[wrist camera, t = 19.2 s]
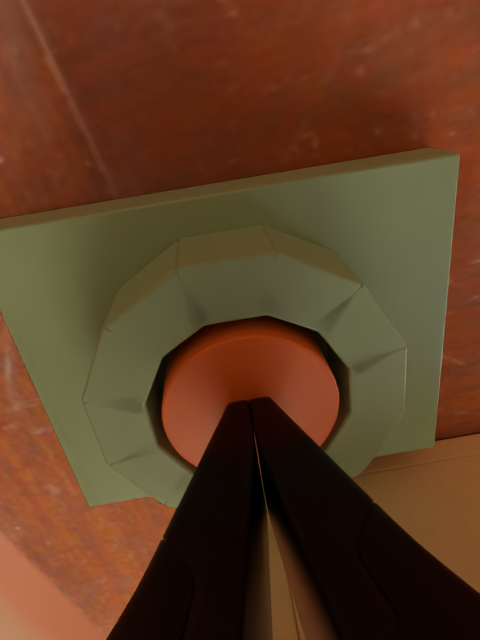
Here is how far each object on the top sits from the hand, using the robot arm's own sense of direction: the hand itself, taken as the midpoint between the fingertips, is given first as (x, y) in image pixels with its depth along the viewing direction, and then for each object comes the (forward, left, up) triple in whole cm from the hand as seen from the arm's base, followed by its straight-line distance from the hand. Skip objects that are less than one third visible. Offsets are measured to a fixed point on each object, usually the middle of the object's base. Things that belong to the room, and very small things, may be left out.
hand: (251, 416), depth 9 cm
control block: (0, 0, -3) cm, 3 cm away
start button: (0, 0, -2) cm, 2 cm away
